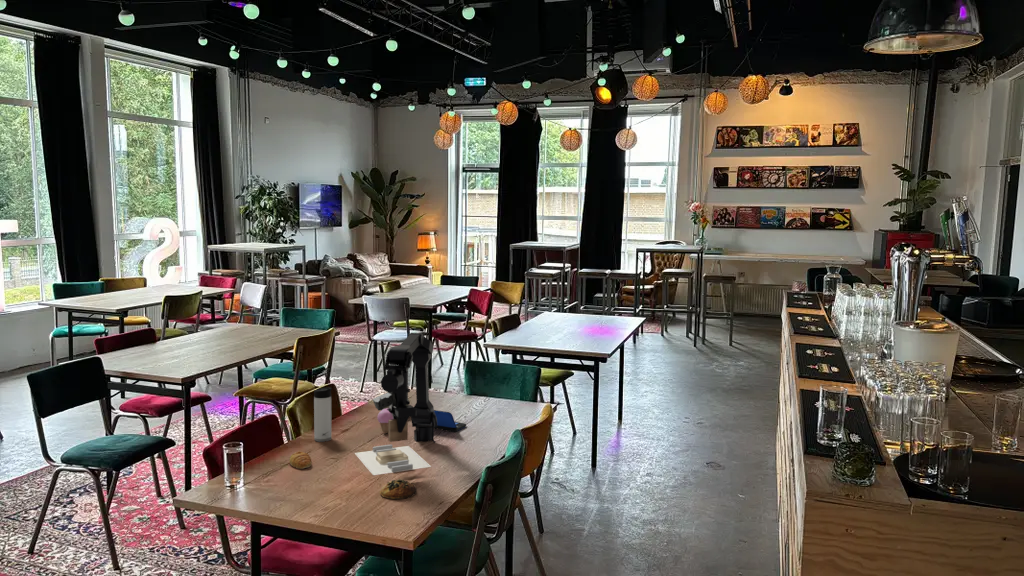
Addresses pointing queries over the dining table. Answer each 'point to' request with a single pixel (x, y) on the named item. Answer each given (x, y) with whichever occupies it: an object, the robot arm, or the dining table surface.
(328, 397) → the travel mug
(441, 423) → the handheld game console
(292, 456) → the pastry
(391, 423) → the walnut panel
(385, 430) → the cupcake
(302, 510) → the dining table surface
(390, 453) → the offcut stack
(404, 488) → the bread roll
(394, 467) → the rack
